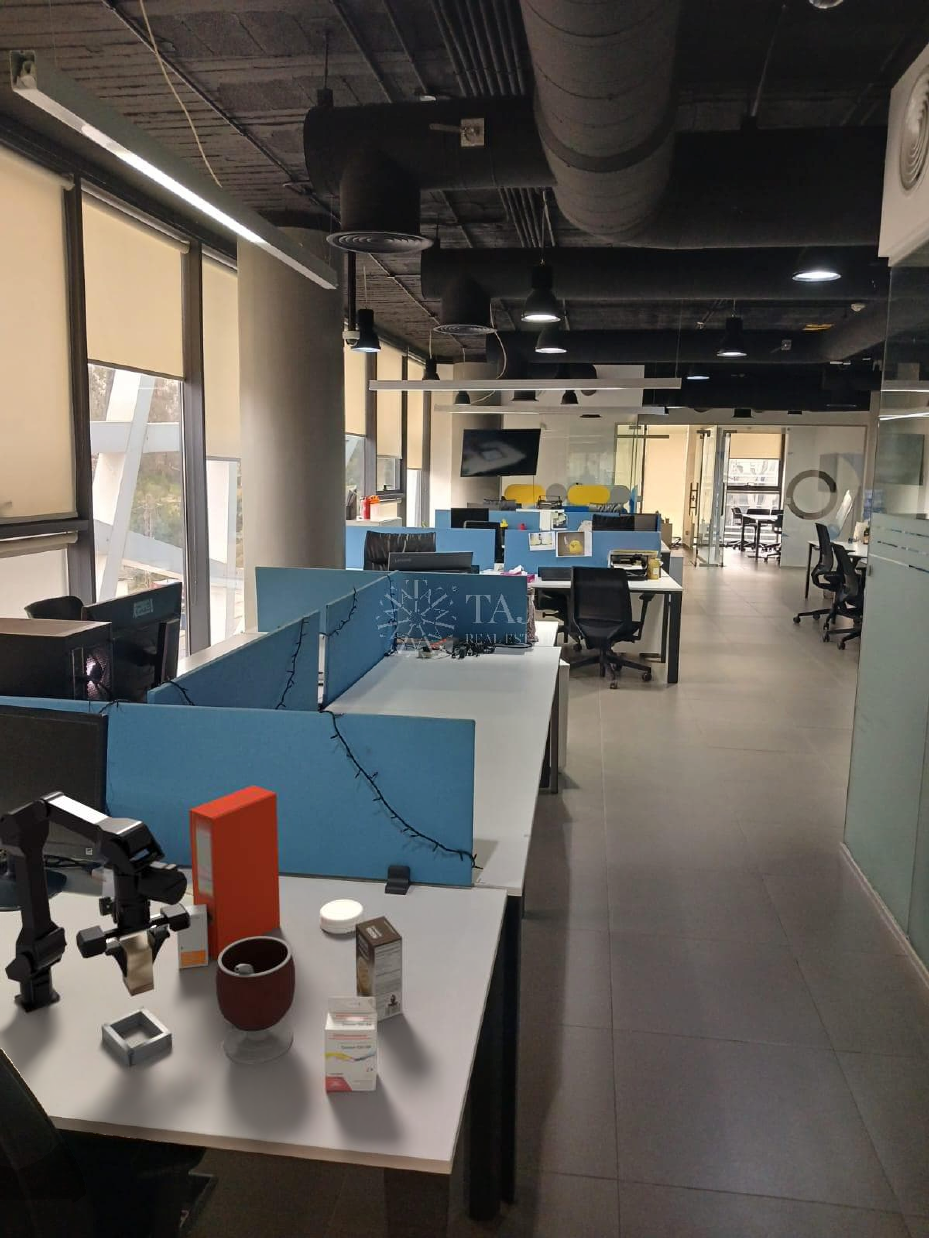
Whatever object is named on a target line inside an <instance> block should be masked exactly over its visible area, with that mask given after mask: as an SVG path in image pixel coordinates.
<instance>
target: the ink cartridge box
mask: <svg viewBox="0 0 929 1238" xmlns="http://www.w3.org/2000/svg"><path fill="white" fill-rule="evenodd" d="M352 1002H353V1003H355V1004H359V1005H345V1004H349V1003H352ZM377 1032H378V1021H377V1013H376V999H375V998H374V997H357V996H329V997H328V1012H327V1015H326V1022H325V1028H324V1057H325V1058H324V1072H325V1073H324V1074H325V1075H324V1077H325V1079H324V1080H325V1083H324V1084H325V1085H324V1086H325V1092H338V1091H339V1092H361V1091H362V1092H373V1091H375V1092H376V1088H377V1087H376V1086H377V1075H378V1074H377V1073H378V1033H377Z"/></svg>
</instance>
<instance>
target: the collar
mask: <svg viewBox="0 0 929 1238" xmlns="http://www.w3.org/2000/svg"><path fill="white" fill-rule="evenodd" d="M141 1024H142V1025H143V1026H144V1027H145V1028H146V1029H147V1030H148V1031H149V1032H150V1033H151V1034H152V1035H153V1036H154V1037H152V1038H150V1039H147V1040H146V1041H144V1042H141V1043H139V1044H138V1045H135V1046H133V1047H131V1046H130V1045H128V1043H127V1042H126V1041H125V1040H124V1039H123V1038H122V1037H121V1036H120V1035H119V1034H121V1033H124V1032H125V1031H128V1030H130V1029H132V1028H133V1027H136V1026H138V1025H141ZM172 1035H173V1034H172V1032H171V1031H170V1030H169V1029H168V1028H167V1027H166V1026H165V1025H164V1024H163V1023H162V1022H160V1020H158V1018H157V1017H156V1016H155V1015H154V1014H152V1013H151V1012H150V1011H149V1010H148V1009H147V1008H146V1007H145V1006H143V1005H142V1006H141V1007H139V1008H136V1009H134V1010H132V1011H130V1012H127V1013H125V1014H123V1015H121V1016H119V1017H117V1018H114V1019H112V1020H110V1021H109V1022H106V1023H104V1024H102V1025H101V1036H102V1039H103V1040H104V1041H105V1042H106V1043H107V1044H108V1046H109V1047H110V1048H111V1049H112V1050H113V1051H114V1052H115V1053H116V1054H117V1056H119V1058H120V1059H122V1061H123V1062H125V1064H126V1065H127V1066H128V1067H131V1066H133V1065H135V1064H138V1063H139V1062H141V1061H144V1060H145V1059H147V1058H150V1057H151V1056H153V1055H156V1054H157V1053H160V1052H161V1051H164V1050H166V1049H168V1048H170V1047H172V1046H173V1037H172Z"/></svg>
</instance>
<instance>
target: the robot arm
mask: <svg viewBox="0 0 929 1238" xmlns="http://www.w3.org/2000/svg"><path fill="white" fill-rule="evenodd" d="M50 822H51V823H53V824H56V825H58V826H60V827H62V828H64V829H65V830H67V831H71V832H72V833H74V834H77V835H78V836H81V838H82V837H83V838H85V839H86V840H89V841H91V842H92V843H94V844H95V845H96V847H97V851H98V853H100V854H101V855H102V856H103V857H105V858H106V859H108V860H107V861H106V862H105V863H103V865H102V867H103V869H105V870H110V871H112V876H113V890H114V891H113V892H114V896H113V897H114V898H111V896H109V895H107V896H102V897H100V898H98V911H99V914H100V916H101V917H104V916H109V915H110V918H112V923H113V924H114V925H116V927H114V928H111V929H108V930H105V931H103V930H102V927H101V926H100V925H95V926H91V927H88V928H84V929H81V930H79V931H78V932H77V933H76V934H75V935H76V936H75V941H76V943H75V944H76V946H77V948H78V951H79V953H80V955H81V957H82V959H90V958H94V957H97V956H99V955H103V954H104V955H105V956H106V957H110V956H112V957H113V958H114V960H115V961H116V963H117V965H118V967H119V969H120V971H121V974H122V973H123V975H124V977H127V967H126V961H125V955H124V949H123V947H122V946H121V944H120V941H121V939H123V938H126V937H130V936H135V935H136V934H141V933H143V932H144V933H145V932H146V941H147V942H148V944H149V946H150V947H151V949H152V964H153V965H154V964H155V962H156V959H157V957H158V954H159V952H160V950H161V948H162V946H163V945H164V943H165V941H166V940H168V939H169V938H171V933H170V931H172V932H174V933H177V931H180V930H184V929H187V928H189V927H190V926H191V923H190V915H189V913H188V912H187V910H186V909H185V908H184V907H185V906H184V905H183V904H182V903H180V902H181V900H182V899H183V898H184V896H185V894H186V892H187V888H188V878H187V877H186V875H185V873H184V872H182V871H179V866H178V865H177V864H174V863H165V862H160V861H161V860H163V859H165V857H166V855H165V853H164V851H163V850H162V846H161V845H160V844H159V842H157V840H156V838H155V837H154V835H153V833H152V832H151V831H150V829H149V826H148V825H147V824H146V823H144V822H143V821H140V820H137V819H132V818H129V817H111V816H108V815H106V814H104V813H102V812H99V811H97V810H95V809H93V808H92V807H89V806H87V805H85V804H82V803H80V802H78V801H76V800H74V799H72V798H70V797H67V795H66V794H65V793H64V792H62V791H53V792H50V793H48V794H46V795H43V796H41V797H39V798H37V799H36V800H35V801H33V802H32V801H31V802H29V803H27V804H25V805H22V806H19V807H17V808H15V809H13V810H11V811H7V812H6V813H4V814H2V816H0V841H1V845H2V846H3V847H4V848H5V849H6V850H7V851H9V853H10V854H11V855H12V857H13V858H12V859H13V864H14V871H15V872H14V873H15V879H16V886H17V894H18V901H19V909H20V911H19V912H20V916H21V917H20V919H21V929H20V931H19V934H18V936H17V938H16V941H15V952H14V953H15V956H14V957H15V958H14V959H13V960H11V962H10V963H8V965H7V966H6V967H5V968H4V971H5V974H6V976H7V980H11V981H14V982H16V983H17V982H18V984H19V994H16V995H14V1000H15V1001H16V1002H17V1004H18V1005H19V1006H20V1007H21V1008H22V1010H23V1011H24V1012H25V1013H29V1012H30V1011H33V1010H36V1009H39V1008H40V1007H44V1006H45V1005H46V1006H47V1004H50V1003H53V1002H55V1001H58V1000H60V999H61V995H60V993H58V992H57V991H56V989H55V988H54V987H53V986H54V985H53V975H52V974H53V973H52V967H53V966H55V965H56V964H58V963H60V962H61V961H62V957H63V954H64V953H65V951H66V947H67V946H68V943H67V939H66V930H65V928H64V927H63V926H58V925H57V924H56V923H55V922H54V921H53V920H52V915H51V909H50V908H51V907H50V900H49V893H48V885H47V877H46V876H47V875H46V867H45V860H44V852H43V850H44V846H45V844H46V842H47V840H48V837H49V834H50ZM146 851H147V852H148V853H147V854H145V855H143V856H141V857H140V858H138V859H137V858H135V857H137V856H139V855H140V854H142V853H144V852H146ZM151 902H157V903H160V904H165V905H166V906H162V907H160V909H159V913H158V914H154V915H151V906H152V905H151V904H152V903H151ZM168 928H169V930H170V931H169V930H168Z"/></svg>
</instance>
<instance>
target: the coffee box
mask: <svg viewBox="0 0 929 1238" xmlns="http://www.w3.org/2000/svg"><path fill="white" fill-rule="evenodd" d="M355 928H356V930H355V972H356V973H355V974H356V975H355V977H356V978H355V981H356V984H355V985H356V987H355V988H356V989H355V990H356V997H374V998H375V999H376V1013H377V1022H381V1021H383V1020H386V1019H390V1018H391V1017H392V1018H393V1017H394V1016H397V1015H400V1014H403V936H402V935H401V934H400V933H399V931H397V929H396V928H395V927H394V926H393V925H392V924H391V922H390V921H389V919H387V918H386V916H385V915H383V916H379V917H376V918H372V919H368V920H364V922H362V923H358V924H356V925H355Z"/></svg>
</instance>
